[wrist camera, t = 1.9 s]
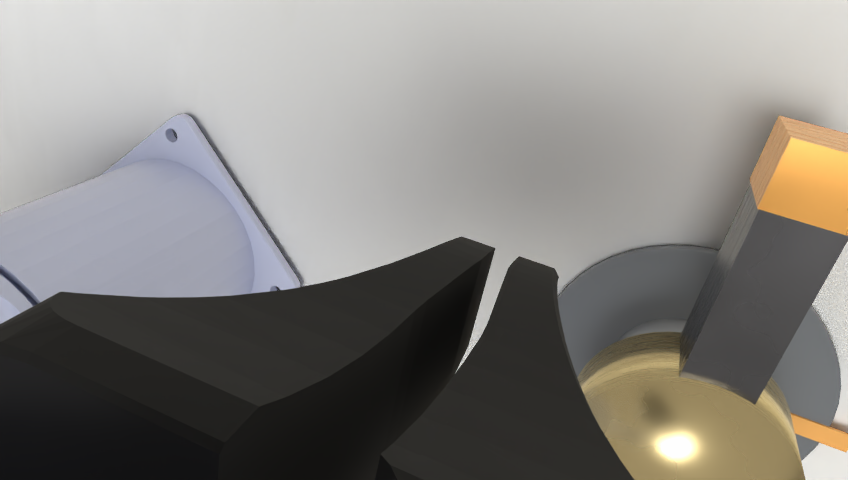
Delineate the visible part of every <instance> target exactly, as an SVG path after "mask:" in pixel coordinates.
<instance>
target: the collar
mask: <svg viewBox="0 0 848 480" xmlns="http://www.w3.org/2000/svg"><path fill="white" fill-rule="evenodd" d="M847 241H848V134H847V133H843V132H840V131H836V130H832V129H828V128H825V127H821V126H817V125H813V124H809V123H806V122H802V121H798V120H794V119H791V118H787V117H783V116H778V118H777V120H776V123H775V125H774V127H773V129H772V131H771V134H770V136H769V138H768V140H767V142H766V144H765V147H764V149H763V151H762V153H761V155H760V157H759V160H758V162H757V164H756V166H755V168H754V170H753V173H752V175H751V177H750V185H749V188H748V190H747V192H746V194H745V196H744V198H743V201H742V203H741V205H740V207H739V209H738V211H737V214H736V216H735V218H734V220H733V222H732V224H731V227H730V229H729V231H728V233H727V235H726V237H725V240H724V242H723V244H722V246H721V248H720V250H719V253H718V255H717V257H716V259H715V261H714V263H713V266H712V268H711V270H710V272H709V274H708V276H707V279H706V281H705V283H704V285H703V287H702V289H701V292H700V294H699V296H698V298H697V300H696V302H695V305H694V307H693V309H692V311H691V313H690V315H689V318H688V320H687V322H686V324H685V326H684V328H683V331H682V332H652V333H645V334H639V335H635V336H632V337H628V338H625V339H623V340H620V341H618V342H615V343H613V344H612V345H610V346H608V347H606V348H604V349H603V350H602V351H600V352H599V353H598V354H596V355H595V356H594V357H593V358H592V359H591V360H590V361H589V362H588V363H587V364H586V365H585V367H584V368H583V370H582V371H581V373H580V374H579V376H578V381H579V383H580V386H581V388H582V391H583V393H584V395H585V397H586V400H587V402H588V404H589V406H590V408H591V410H592V413H593V415H594V416H595V418H596V420H597V422H598V424H599V426H600V428H601V430H602V431H603V433H604V434H605V436H606V438H607V439H608V441H609V442H610V444H611V446H612V447H613V449H614V450H615V452H616V454H617V455H618V457H619V458H620V460H621V461H622V463H623V464H624V466H625V467H626V469H627V470H628V471H629V473H630V474H631V476H632V477H633V478H634V480H805V476H804V472H803V467H802V463H801V458H800V453H799V449H798V444H797V440H796V435H795V431H794V426H793V421H792V417H791V413H790V409H789V406H788V403H787V401H786V399H785V396H784V394H783V392H782V391H781V389H780V388H779V386H778V385H777V383H776V382H775V381H774V379H773V378H772V377H771V376H772V374H773V372H774V370H775V369H776V367H777V365H778V363H779V362H780V360H781V358H782V356H783V354H784V353H785V351H786V349H787V347H788V346H789V344H790V342H791V340H792V339H793V337H794V335H795V333H796V331H797V330H798V328H799V326H800V324H801V323H802V321H803V319H804V317H805V315H806V314H807V312H808V310H809V308H810V307H811V305H812V303H813V301H814V299H815V298H816V296H817V294H818V292H819V291H820V289H821V287H822V285H823V283H824V282H825V280H826V278H827V276H828V275H829V273H830V271H831V269H832V267H833V266H834V264H835V262H836V260H837V259H838V257H839V255H840V253H841V252H842V250H843V248H844V246H845V244H846V243H847Z"/></svg>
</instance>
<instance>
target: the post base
mask: <svg viewBox="0 0 848 480" xmlns="http://www.w3.org/2000/svg"><path fill="white" fill-rule="evenodd" d="M718 253H719V250H716V249H711V248H704V247H697V246H687V245H664V246H652V247H646V248H641V249H636V250H631V251H628V252H625V253H622V254H619V255H616V256H613V257H610V258H608V259H606V260H604V261H602V262H600V263H598V264H596V265H594V266H593V267H591V268H589V269H588V270H586V271H585V272H583V273H582V274H580V275H579V276H578V277H577V278H576V279H575V280H574V281H572V282H571V283H570V284H569V285H568V286H567V287H566V288H565V289H564V291H563V292H562V293H561V294H560V295H559V296H558V306H559V313H560V319H561V323H562V328H563V332H564V337H565V341H566V344H567V348H568V352H569V355H570V358H571V361H572V364H573V367H574V370H575V373H576V375H577V378H578V376H579V374H580V373H581V371H582V370H583V368H584V367H585V365H586V364H587V363H588V362H589V361H590V360H591V359H592V358H593V357H594V356H595V355H596V354H598V353H599V352H600V351H602V350H603V349H604V348H606V347H608V346H610V345H612V344H613V343H615V342H618V341H620V340H623V339H625V338H628V337H632V336H635V335H639V334H645V333H652V332H682V331H683V328H684V326H685V324H686V322H687V320H688V318H689V315H690V313H691V311H692V309H693V307H694V305H695V302H696V300H697V298H698V296H699V294H700V292H701V289H702V287H703V285H704V283H705V281H706V279H707V276H708V274H709V272H710V270H711V268H712V266H713V263H714V261H715V259H716V257H717V255H718ZM771 377H772V378H773V379H774V381H775V382H776V383H777V385H778V386H779V388H780V389H781V391H782V392H783V394H784V396H785V399H786V401H787V403H788V406H789V409H790V413H791V417H792V421H793V426H794V431H795V435H796V440H797V444H798V449H799V453H800V458H801V460H803V459H804V458H805V457H806V456H807V455H808V454H809V453H810V452H811V451H812V450H813V449H814V448H815V447H816V446H817V445H818V444H819V443H822V444H825V445H828V446H830V447H833V448H836V449H838V450H841V451H844V452H847V450H848V433H846V432H843V431H840V430H838V429H835V428H832V427H830V425H831V423H832V421H833V419H834V416H835V413H836V410H837V407H838V404H839V397H840V390H841V378H840V367H839V363H838V358H837V354H836V350H835V348H834V345H833V343H832V340H831V338H830V335H829V333H828V330H827V328H826V326H825V325H824V323H823V322H822V320H821V318H820V317H819V315H818V313H817V312H816V311H815V309H814V308H813V307H812V306H811V307H810V308H809V310H808V312H807V314H806V315H805V317H804V319H803V321H802V323H801V324H800V326H799V328H798V330H797V331H796V333H795V335H794V337H793V339H792V340H791V342H790V344H789V346H788V347H787V349H786V351H785V353H784V354H783V356H782V358H781V360H780V362H779V363H778V365H777V367H776V369H775V370H774V372H773V374H772V376H771Z"/></svg>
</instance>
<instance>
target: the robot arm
mask: <svg viewBox="0 0 848 480" xmlns="http://www.w3.org/2000/svg"><path fill="white" fill-rule="evenodd" d="M173 130H174V131H175V132H176V134H177V138H176V137H175V136H174V134H173ZM494 251H495V248H493V247H490V246H487V245H485V244H482V243H479V242H476V241H473V240H470V239H467V238H464V237H459V238H456V239H453V240H450V241H448V242H445V243H443V244H440V245H438V246H435V247H433V248H430V249H428V250H425V251H423V252H420V253H418V254H415V255H412V256H410V257H407V258H404V259H402V260H399V261H396V262H394V263H391V264H388V265H384V266H381V267H378V268H375V269H371V270H368V271H365V272H362V273H359V274H355V275H352V276H349V277H345V278H341V279H337V280H333V281H329V282H324V283H320V284H314V285H309V286H304V287H301V286H300V282H299V279H298V278H297V276H296V275H295V273H294V272H293V270H292V269H291V267H290V266H289V264H288V263H287V261H286V260H285V258H284V257H283V255H282V253H281V252H280V250H279V249H278V247H277V246H276V244H275V243H274V241H273V240H272V238H271V237H270V235H269V234H268V232H267V231H266V229H265V228H264V226H263V225H262V223H261V222H260V220H259V219H258V217H257V216H256V214H255V212H254V211H253V209H252V208H251V206H250V205H249V203H248V202H247V200H246V199H245V197H244V196H243V194H242V193H241V191H240V190H239V188H238V187H237V185H236V184H235V182H234V181H233V179H232V178H231V176H230V174H229V173H228V171H227V170H226V168H225V167H224V165H223V164H222V162H221V161H220V159H219V158H218V156H217V155H216V153H215V152H214V150H213V149H212V147H211V146H210V144H209V143H208V141H207V140H206V138H205V136H204V135H203V133H202V132H201V130H200V129H199V127H198V126H197V124H196V123H195V121H194V120H193V119H192V118H191V117H190V116H189V115H187V114H179V115H176V116H173V117H172V118H171V119H169V120H168V121H167V122H166V123H164V124H163V125H162V126H161V127H159V128H158V129H157V130H156V131H154V132H153V133H152V134H151V135H150V136H148V137H147V138H146V139H145V140H143V141H142V142H141V143H140V144H138V145H137V146H136V147H135V148H133V149H132V150H131V151H130V152H129V153H127V154H126V155H125V156H124V157H122V158H121V159H120V160H119V161H117V162H116V163H115V164H114V165H113V166H111V167H110V168H109V169H108V170H106V171H105V172H104V173H103V174H101V175H100V176H98V177H96V178H93V179H90V180H88V181H85V182H82V183H80V184H77V185H75V186H72V187H69V188H67V189H64V190H61V191H59V192H56V193H53V194H51V195H48V196H45V197H43V198H40V199H37V200H35V201H32V202H30V203H27V204H24V205H22V206H19V207H16V208H14V209H11V210H8V211H6V212H3V213H0V480H634V478H633V477H632V476H631V474H630V473H629V471H628V470H627V469H626V467H625V466H624V464H623V463H622V461H621V460H620V458H619V457H618V455H617V454H616V452H615V450H614V449H613V447H612V446H611V444H610V442H609V441H608V439H607V438H606V436H605V434H604V433H603V431H602V430H601V428H600V426H599V424H598V422H597V420H596V418H595V416H594V415H593V413H592V410H591V408H590V406H589V404H588V402H587V400H586V397H585V395H584V393H583V391H582V388H581V386H580V383H579V381H578V378H577V375H576V373H575V370H574V367H573V364H572V361H571V358H570V355H569V352H568V348H567V344H566V341H565V337H564V332H563V328H562V323H561V319H560V313H559V306H558V297H557V282H558V278H559V277H558V275H557V273H556V271H555V269H554V268H551V267H548V266H545V265H543V264H540V263H537V262H534V261H531V260H528V259H525V258H522V257H518V258H517V259H516V260H515V261H514V262H513V263H512V264H511V265H510V267H509V268H508V270H507V273H506V276H505V278H504V281H503V284H502V286H501V289H500V292H499V294H498V297H497V300H496V302H495V305H494V308H493V311H492V313H491V316H490V319H489V321H488V324H487V326H486V328H485V330H484V332H483V334H482V336H481V337H480V339H479V340H478V342H477V343H476V345H475V346H474V348H473V349H472V351H471V352H470V354H469V355H468V357H467V358H466V360H465V361H464V363H463V364H462V365H461V367H460V368H459V369H458V371H457V368H458V366H459V364H460V362H461V360H462V358H463V356H464V354H465V351H466V349H467V347H468V345H469V341H470V338H471V334H472V331H473V327H474V323H475V320H476V316H477V312H478V309H479V305H480V302H481V298H482V294H483V291H484V287H485V284H486V280H487V276H488V273H489V269H490V265H491V262H492V258H493V255H494ZM276 286H277V287H278V288H279V289H280V290H279V291H277V289H276ZM456 371H457V372H456Z"/></svg>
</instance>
